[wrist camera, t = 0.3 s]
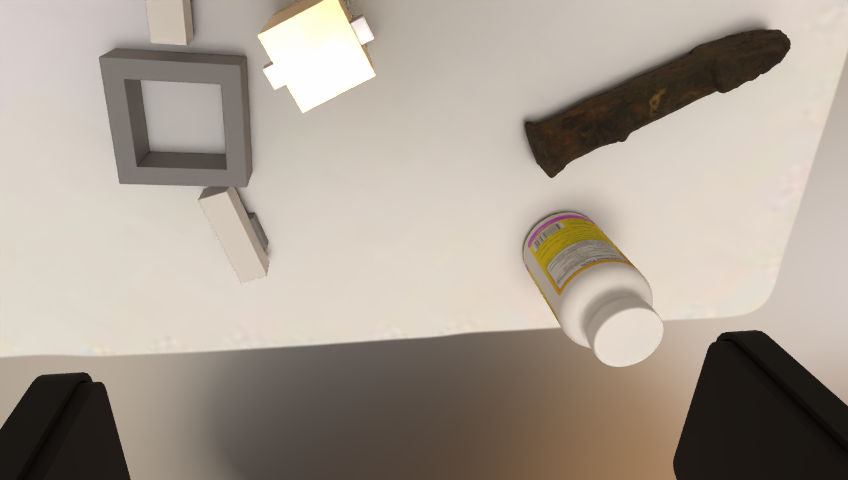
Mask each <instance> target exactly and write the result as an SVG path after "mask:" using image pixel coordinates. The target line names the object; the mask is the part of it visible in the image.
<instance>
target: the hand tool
mask: <svg viewBox="0 0 848 480" xmlns="http://www.w3.org/2000/svg"><path fill="white" fill-rule="evenodd" d="M790 45H791V44H790V40H789V39H788V38H787V35H785V34H784V33H782V32H781V30H756V31H750V32H746V33H741V34H737V35H731V36H728V37H725V38H724V39H720V40H717V41H713V42H710V43H707V44H703V45H700V46H698V47H696V48H694V49H693V50H691V52H690V55H689V56H686V57H684V58H682V59H680V60H678V61H676V62H673V63H671V64H669V65H666V66H664V67H662V68H659V69H657V70H655V71H653V72H651V73H649V74H646V75H642V76H640V77H638V78H635V79H634V80H632V81H631V82H629V83H627V84H625V85H623V86H620V87H618V88H616V89H614V90H612V91H609V92H606V93H604V94H602V95H599V96H597V97H595V98H592V99H590V100H587V101H584V102H583V103H582V104H580V105H579V106H577V107H574V108H572V109H571V110H569V111H567V112H565V113H563V114H561V115H559V116H557V117H555V118H552V119H550V120H548V121H545V122H543V123H536V124H534V123H530V122H526V124H525V130H526V133H527V137H528V140H529V144H530V146H531V149H532V152H533V154H534V157H535V159H536V162H537V164H538V165H540V167H541V168H542V169H543V170H544V171H545V173H546V174H547V175H548V176H549V177H550V178H553V177H554V176H556V175H557V173H559V172H560V171H562V170H563V169H564V168H565V166H566V165H567V164H568V163H570V162H571V161H573V160H575V159H577V158H579V157H581V156H583V155H585V154H588V153H589V152H591V151H593V150H595V149H597V148H599V147H601V146H605V145H608V144H612V143H616V142H617V141H618V142H624V141H625V140H626V139H627V137H628V136H629V134H630V133H631V132H633V131H635V130H638V129H639V128H641V127H643V126H645V125H647V124H649V123H651V122H653V121H656V120H658V119H660V118H662V117H664V116H666V115H668V114H670V113H672V112H674V111H677V110H679V109H681V108H682V107H684V106H686V105H688V104H690V103H692V102H694V101H696V100H698V99H700V98H702V97H705V96H707V95H710V94H712V93H714V92H716V91H719V92H720V93H726V92H729V91H731V90H733V89H735V88H738V87H739V86H740V85H742V84H743V83H745V82H747V81H752V80H754V79H756V78H757V77H758V76H759V75H760V74H764V73H766V72H768V71H769V70H770V69H771V68H772V67H774V66H775V65H776V64H778V63H780V62H781V61H782V59H783V58H784V57H785V55H786V54H787V52H788V51H789V49H790Z"/></svg>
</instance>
